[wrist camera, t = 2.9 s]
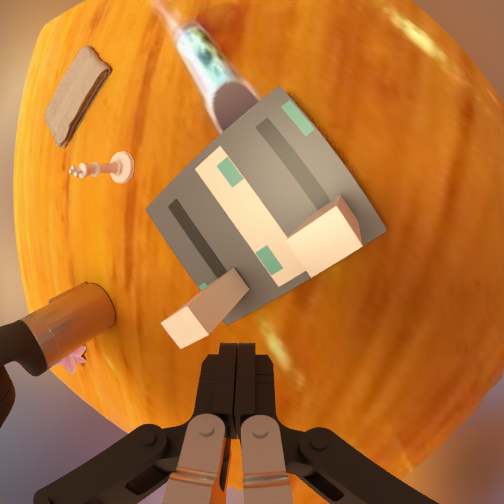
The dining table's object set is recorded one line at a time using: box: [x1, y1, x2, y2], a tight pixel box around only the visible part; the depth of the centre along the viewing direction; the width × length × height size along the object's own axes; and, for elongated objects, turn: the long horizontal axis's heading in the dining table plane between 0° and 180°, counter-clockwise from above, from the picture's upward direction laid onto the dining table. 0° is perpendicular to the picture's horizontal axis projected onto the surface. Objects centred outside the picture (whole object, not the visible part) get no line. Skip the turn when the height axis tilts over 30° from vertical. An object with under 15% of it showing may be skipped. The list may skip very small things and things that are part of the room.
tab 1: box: [161, 268, 249, 349], centre depth 28 cm, size 3×4×10 cm
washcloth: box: [45, 46, 111, 148], centre depth 36 cm, size 12×18×3 cm, turn 133°
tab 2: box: [285, 194, 363, 278], centre depth 22 cm, size 3×4×10 cm
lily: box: [54, 346, 87, 374], centre depth 54 cm, size 11×11×9 cm
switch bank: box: [145, 86, 387, 326], centre depth 31 cm, size 18×22×3 cm
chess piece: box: [69, 151, 134, 184], centre depth 33 cm, size 5×5×10 cm
